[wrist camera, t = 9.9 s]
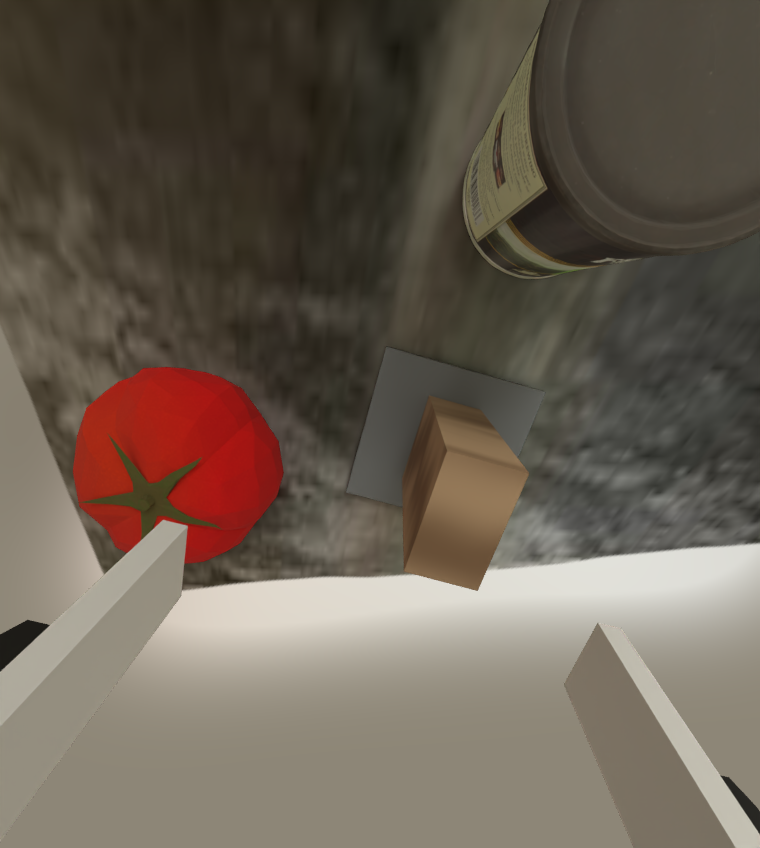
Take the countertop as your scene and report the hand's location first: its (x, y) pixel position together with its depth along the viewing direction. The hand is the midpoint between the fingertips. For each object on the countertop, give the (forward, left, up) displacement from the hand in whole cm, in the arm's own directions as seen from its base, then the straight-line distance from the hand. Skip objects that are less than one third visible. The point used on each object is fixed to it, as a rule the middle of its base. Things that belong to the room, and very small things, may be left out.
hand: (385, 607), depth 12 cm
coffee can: (-18, +5, -19) cm, 26 cm away
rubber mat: (0, +4, -18) cm, 19 cm away
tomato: (+5, -13, -19) cm, 23 cm away
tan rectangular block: (0, +4, -18) cm, 18 cm away
